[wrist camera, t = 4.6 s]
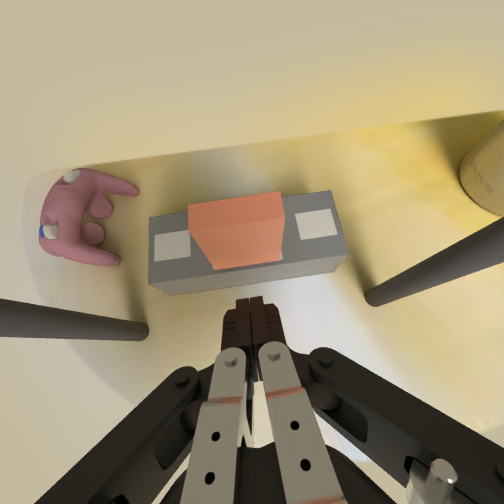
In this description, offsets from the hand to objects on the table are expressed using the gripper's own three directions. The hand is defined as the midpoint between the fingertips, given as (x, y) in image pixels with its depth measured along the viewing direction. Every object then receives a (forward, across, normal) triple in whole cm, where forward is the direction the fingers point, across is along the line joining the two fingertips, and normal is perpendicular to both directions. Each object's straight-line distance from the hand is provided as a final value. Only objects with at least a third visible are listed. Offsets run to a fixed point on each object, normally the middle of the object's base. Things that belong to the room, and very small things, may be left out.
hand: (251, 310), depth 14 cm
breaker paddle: (+6, 0, 0) cm, 6 cm away
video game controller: (+16, +15, -2) cm, 22 cm away
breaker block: (+12, 0, +2) cm, 12 cm away
